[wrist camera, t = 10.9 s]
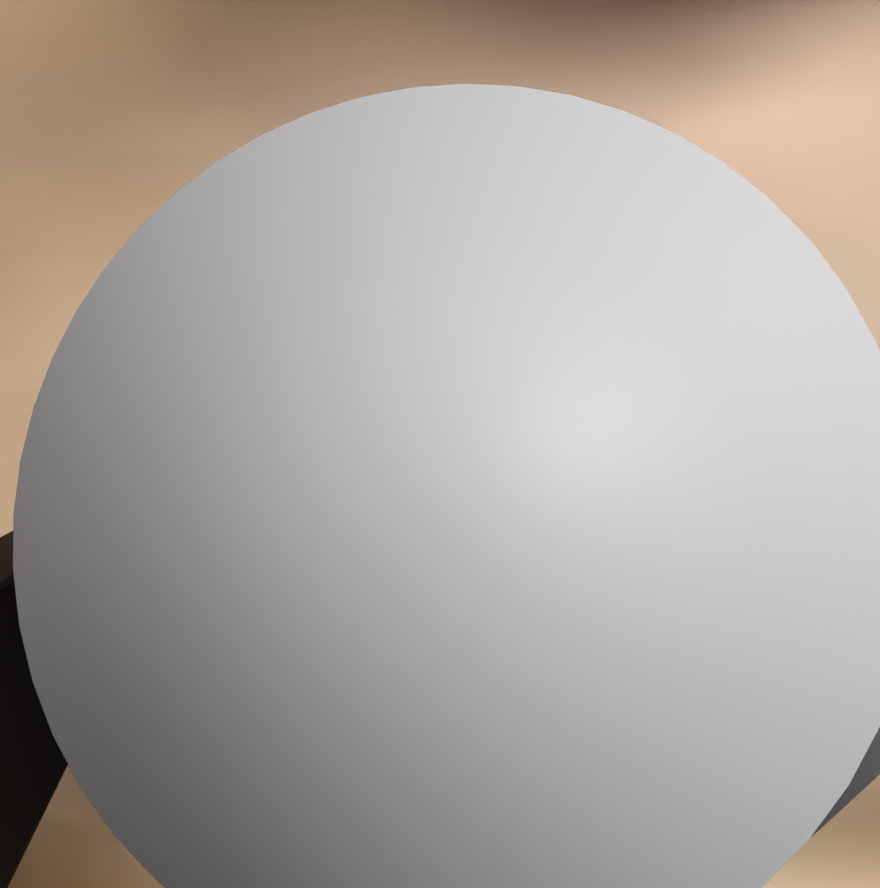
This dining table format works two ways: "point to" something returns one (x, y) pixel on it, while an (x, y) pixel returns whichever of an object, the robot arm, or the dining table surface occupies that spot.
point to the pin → (459, 512)
